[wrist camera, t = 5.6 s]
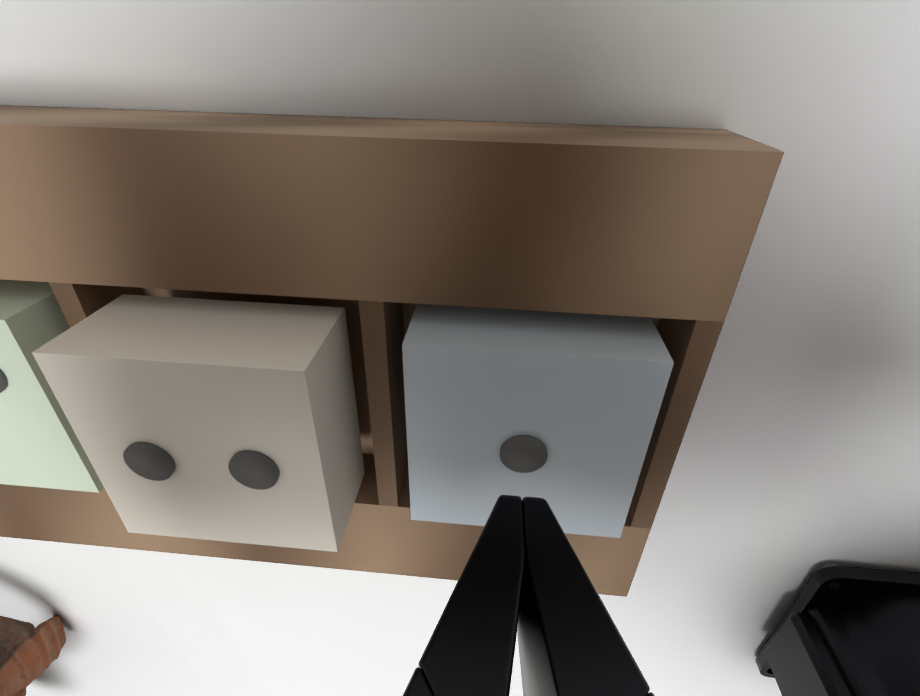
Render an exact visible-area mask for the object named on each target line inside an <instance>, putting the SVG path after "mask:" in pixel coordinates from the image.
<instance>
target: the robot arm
mask: <svg viewBox="0 0 920 696" xmlns="http://www.w3.org/2000/svg"><path fill="white" fill-rule="evenodd" d="M517 632H518V643H519V654H520V664H521V674H522V685H523V695H524V696H654V694H653V693H651V692H650V693H648V692H649V689H650V688H649V686H648V684H647V682H646V680H645V678H644V676H643V675H642V673H641V671H640V669H639V667H638V666H637V664H636V662H635V660H634V658H633V657H632V655H631V653H630V651H629V649H628V647H627V646H626V644H625V642H624V640H623V638H622V637H621V635H620V633H619V631H618V629H617V628H616V626H615V624H614V622H613V620H612V618H611V617H610V615H609V613H608V611H607V609H606V608H605V606H604V604H603V602H602V600H601V599H600V597H599V595H598V593H597V591H596V589H595V588H594V586H593V584H592V582H591V580H590V579H589V577H588V575H587V573H586V571H585V569H584V568H583V566H582V564H581V562H580V560H579V559H578V557H577V555H576V553H575V551H574V550H573V548H572V546H571V544H570V542H569V540H568V539H567V537H566V535H565V533H564V531H563V530H562V528H561V526H560V524H559V522H558V521H557V519H556V517H555V515H554V513H553V511H552V510H551V508H550V506H549V504H548V503H547V501H546V500H545V499H544V498H537V497H524V498H523V499H521V497H520V496H513V495H500V496H499V497H498V499H497V501H496V503H495V505H494V507H493V509H492V511H491V513H490V516H489V518H488V520H487V522H486V524H485V526H484V528H483V530H482V532H481V534H480V536H479V538H478V541H477V543H476V545H475V547H474V549H473V551H472V553H471V555H470V557H469V559H468V561H467V564H466V566H465V568H464V570H463V572H462V574H461V576H460V578H459V580H458V582H457V584H456V586H455V589H454V591H453V593H452V595H451V597H450V599H449V601H448V603H447V605H446V607H445V609H444V611H443V614H442V616H441V618H440V620H439V622H438V624H437V626H436V628H435V630H434V632H433V634H432V637H431V639H430V641H429V643H428V645H427V647H426V649H425V651H424V653H423V655H422V657H421V659H420V662H419V668H416V669H415V671H414V673H413V675H412V678H411V680H410V682H409V684H408V686H407V688H406V690H405V692H404V694H403V696H509V691H510V683H511V674H512V666H513V658H514V650H515V642H516V633H517ZM756 663H757V666H758V668H759V671H760V673H761V674H762V675H764V676H766V677H773V678H775V679H776V682H777V684H778V686H779V689H780V691H781V694H782V696H920V574H917V573H906V572H895V571H884V570H873V569H861V568H850V567H839V566H829V567H825V568H822V569H820V570H818V571H816V572H815V573H814V574H813V576H812V577H811V579H810V580H809V582H808V583H807V585H806V586H805V588H804V589H803V591H802V592H801V593H800V595H799V596H798V598H797V599H796V601H795V602H794V604H793V605H792V607H791V608H790V610H789V611H788V612H787V614H786V615H785V617H784V618H783V620H782V621H781V623H780V624H779V626H778V627H777V629H776V630H775V631H774V633H773V634H772V636H771V637H770V639H769V640H768V642H767V643H766V645H765V646H764V648H763V649H762V650H761V652H760V653H759V655H758V656H757V658H756Z"/></svg>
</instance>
